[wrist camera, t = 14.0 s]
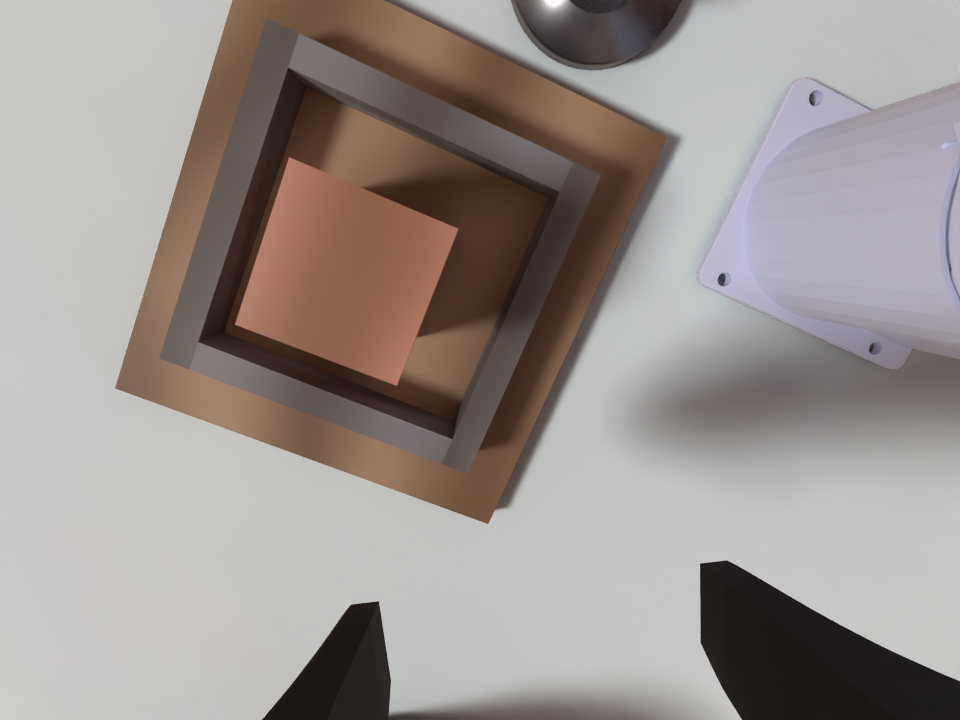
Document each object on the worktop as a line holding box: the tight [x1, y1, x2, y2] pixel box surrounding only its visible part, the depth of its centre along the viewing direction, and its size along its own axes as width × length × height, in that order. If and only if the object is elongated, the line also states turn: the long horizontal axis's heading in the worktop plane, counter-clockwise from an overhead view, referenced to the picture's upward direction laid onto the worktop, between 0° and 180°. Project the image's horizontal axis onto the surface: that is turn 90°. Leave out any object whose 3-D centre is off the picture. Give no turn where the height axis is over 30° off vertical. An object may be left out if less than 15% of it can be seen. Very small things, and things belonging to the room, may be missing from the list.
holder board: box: [115, 0, 666, 524], centre depth 19 cm, size 15×16×3 cm
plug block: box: [235, 157, 458, 386], centre depth 16 cm, size 4×4×7 cm
